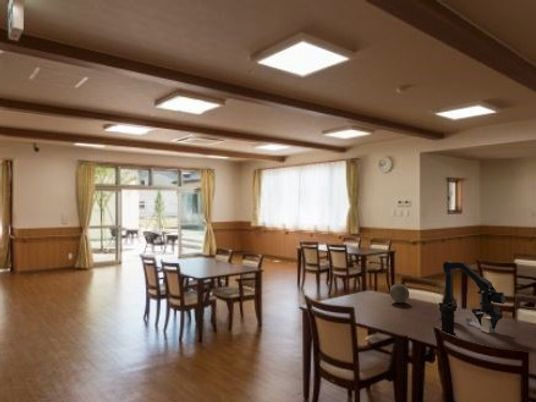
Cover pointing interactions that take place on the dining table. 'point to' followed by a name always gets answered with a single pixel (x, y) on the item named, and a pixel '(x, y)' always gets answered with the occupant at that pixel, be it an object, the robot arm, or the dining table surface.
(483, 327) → the carriage
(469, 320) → the rail
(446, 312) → the black fluted column
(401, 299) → the cantaloupe
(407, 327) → the dining table surface
